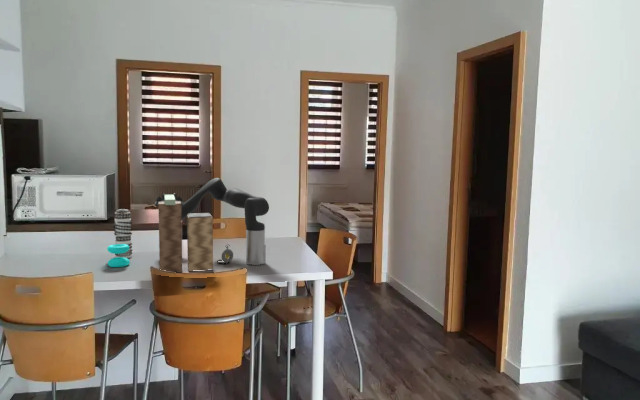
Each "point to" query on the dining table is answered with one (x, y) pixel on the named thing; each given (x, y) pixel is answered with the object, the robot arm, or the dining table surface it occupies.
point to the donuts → (118, 260)
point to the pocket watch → (226, 255)
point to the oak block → (200, 241)
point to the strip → (169, 200)
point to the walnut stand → (170, 236)
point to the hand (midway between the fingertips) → (169, 195)
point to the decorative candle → (123, 231)
